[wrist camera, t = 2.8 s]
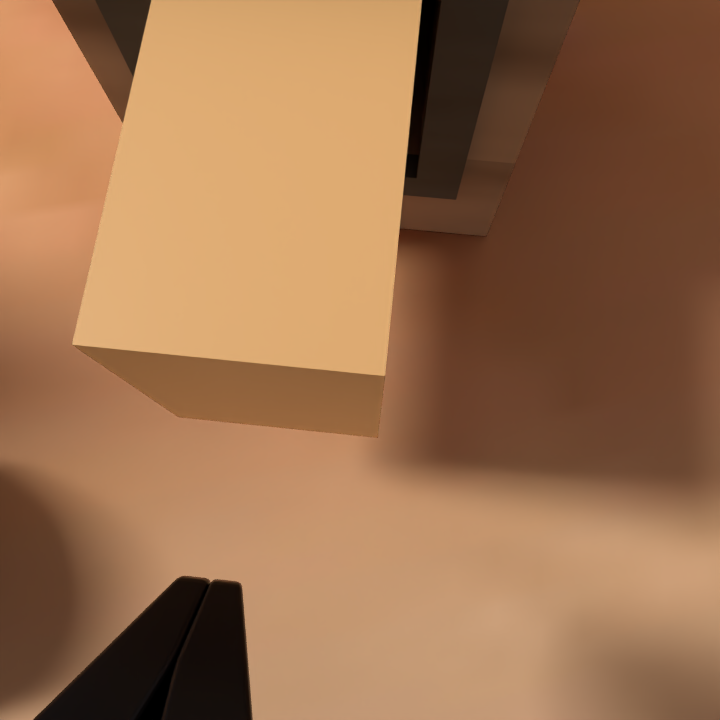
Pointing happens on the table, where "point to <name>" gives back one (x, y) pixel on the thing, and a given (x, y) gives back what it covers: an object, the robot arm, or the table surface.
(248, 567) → the table surface
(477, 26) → the housing
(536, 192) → the table surface
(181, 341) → the peg
